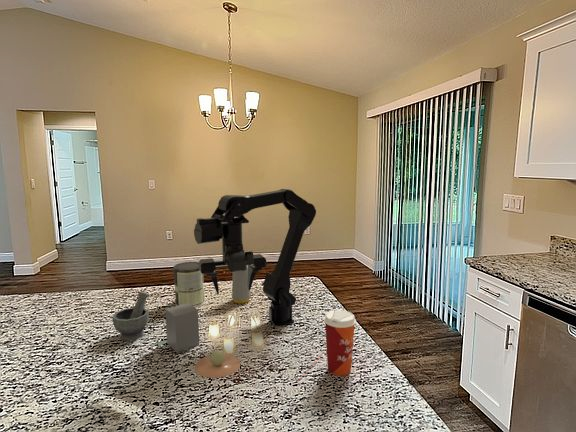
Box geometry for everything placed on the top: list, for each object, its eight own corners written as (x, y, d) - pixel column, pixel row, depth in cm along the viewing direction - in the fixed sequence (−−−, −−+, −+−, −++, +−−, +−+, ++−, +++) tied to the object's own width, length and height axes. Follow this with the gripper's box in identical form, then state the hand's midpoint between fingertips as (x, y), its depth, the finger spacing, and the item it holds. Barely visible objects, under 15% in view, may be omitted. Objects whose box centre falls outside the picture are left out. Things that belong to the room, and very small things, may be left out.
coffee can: (169, 304, 135) (167, 266, 133) (191, 296, 144) (190, 260, 142) (188, 311, 129) (186, 271, 127) (210, 302, 138) (209, 264, 136)
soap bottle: (234, 296, 143) (233, 250, 140) (252, 297, 142) (251, 250, 139) (229, 303, 136) (228, 255, 133) (248, 304, 135) (247, 255, 132)
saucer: (235, 355, 100) (234, 337, 99) (245, 378, 89) (244, 357, 89) (192, 363, 96) (191, 344, 95) (197, 387, 86) (196, 366, 85)
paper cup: (347, 382, 87) (348, 324, 85) (318, 372, 91) (318, 317, 89) (360, 366, 94) (361, 313, 92) (332, 358, 98) (332, 306, 96)
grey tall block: (189, 340, 108) (187, 303, 106) (199, 348, 103) (197, 309, 101) (167, 347, 104) (165, 308, 102) (177, 356, 99) (175, 316, 97)
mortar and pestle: (130, 346, 105) (127, 305, 103) (107, 339, 109) (103, 299, 107) (160, 330, 115) (158, 292, 113) (138, 324, 119) (135, 288, 117)
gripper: (202, 248, 97) (204, 306, 99) (271, 242, 103) (272, 297, 106) (197, 239, 108) (199, 292, 110) (260, 235, 114) (261, 285, 116)
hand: (233, 291), depth 110 cm, fingers open, 9 cm apart
